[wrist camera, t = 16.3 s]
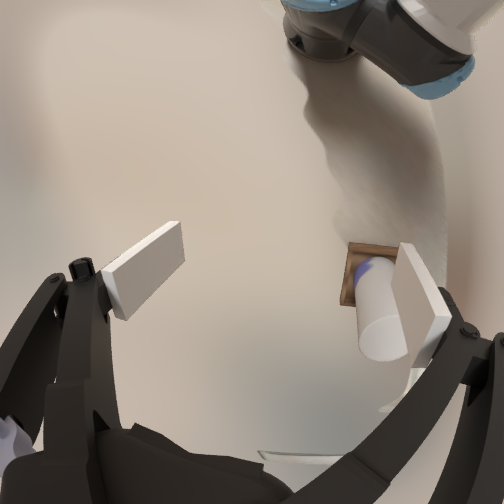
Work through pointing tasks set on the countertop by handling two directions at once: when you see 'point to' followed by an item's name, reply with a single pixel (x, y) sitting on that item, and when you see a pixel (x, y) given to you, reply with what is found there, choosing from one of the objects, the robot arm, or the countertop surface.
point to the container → (378, 311)
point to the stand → (354, 259)
